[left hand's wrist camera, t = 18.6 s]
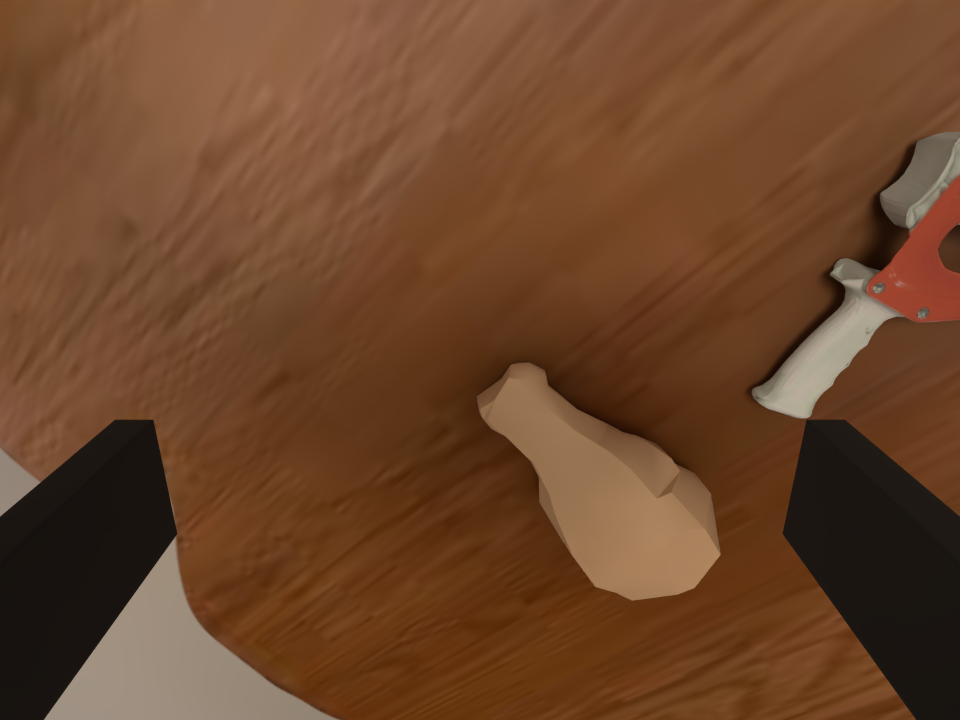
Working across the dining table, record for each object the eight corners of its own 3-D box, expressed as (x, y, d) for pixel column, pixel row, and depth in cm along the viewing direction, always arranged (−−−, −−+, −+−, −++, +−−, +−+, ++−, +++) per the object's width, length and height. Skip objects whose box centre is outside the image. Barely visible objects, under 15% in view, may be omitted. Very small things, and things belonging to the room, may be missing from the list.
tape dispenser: (741, 402, 48) (1031, 352, 45) (766, 440, 43) (1092, 386, 40) (723, 169, 41) (1065, 91, 38) (751, 182, 36) (1144, 95, 33)
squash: (631, 566, 52) (631, 654, 44) (454, 403, 50) (420, 465, 41) (740, 496, 47) (763, 581, 39) (551, 313, 45) (534, 363, 37)
